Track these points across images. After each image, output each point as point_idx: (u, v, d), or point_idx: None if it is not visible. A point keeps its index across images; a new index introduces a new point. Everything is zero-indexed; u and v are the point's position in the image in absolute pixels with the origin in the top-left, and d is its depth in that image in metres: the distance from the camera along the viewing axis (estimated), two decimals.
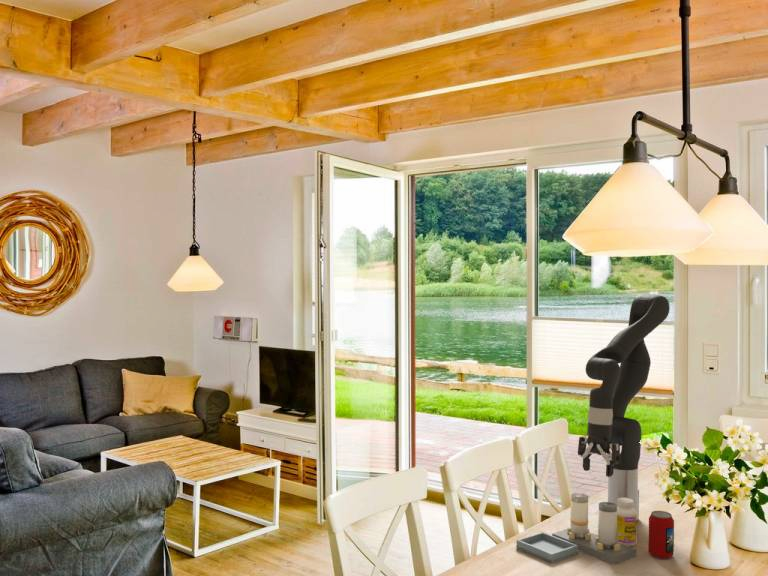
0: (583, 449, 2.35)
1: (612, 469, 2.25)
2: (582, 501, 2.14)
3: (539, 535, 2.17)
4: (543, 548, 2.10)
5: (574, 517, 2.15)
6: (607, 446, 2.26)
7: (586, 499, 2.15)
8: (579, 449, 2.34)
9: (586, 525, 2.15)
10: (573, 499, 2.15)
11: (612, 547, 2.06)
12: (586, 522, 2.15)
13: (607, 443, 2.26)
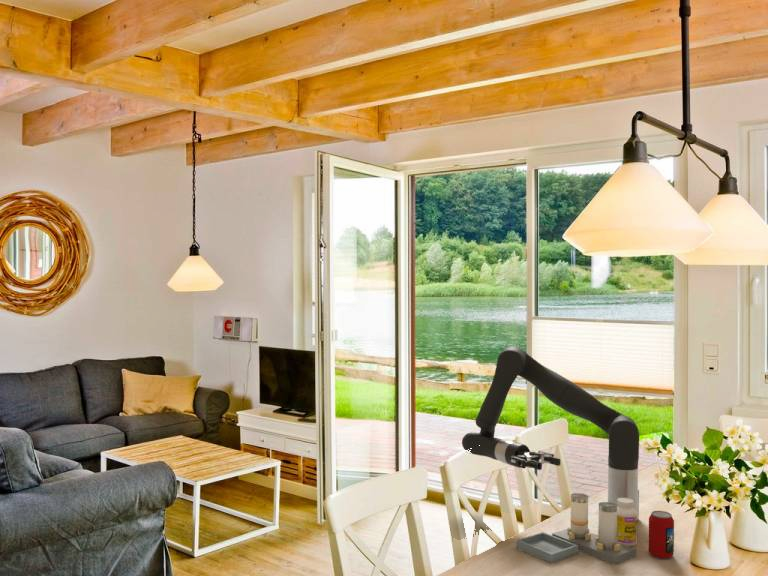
0: None
1: (532, 464, 2.24)
2: (582, 501, 2.14)
3: (539, 535, 2.17)
4: (543, 548, 2.10)
5: (574, 517, 2.15)
6: None
7: (586, 499, 2.15)
8: None
9: (586, 525, 2.15)
10: (573, 499, 2.15)
11: (612, 547, 2.06)
12: (586, 522, 2.15)
13: None
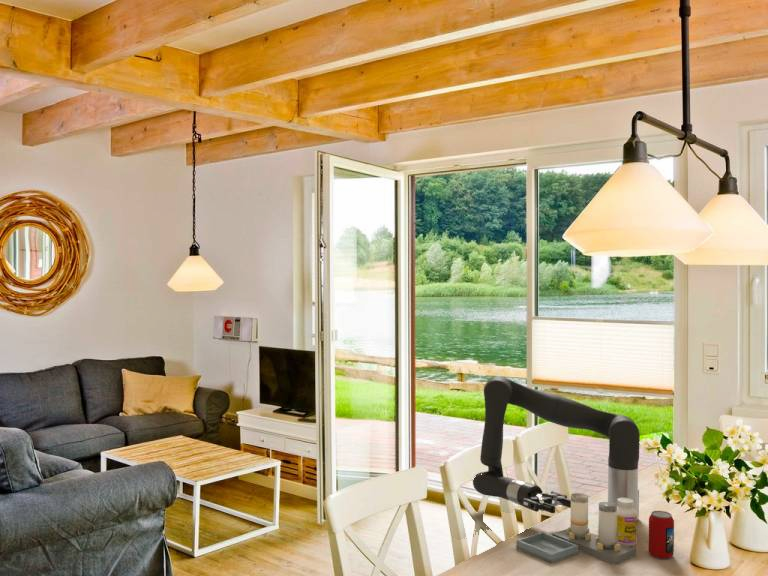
0: None
1: (546, 508, 2.20)
2: (582, 501, 2.14)
3: (539, 535, 2.17)
4: (543, 548, 2.10)
5: (574, 517, 2.15)
6: None
7: (586, 499, 2.15)
8: None
9: (586, 525, 2.15)
10: (573, 499, 2.15)
11: (612, 547, 2.06)
12: (586, 522, 2.15)
13: None
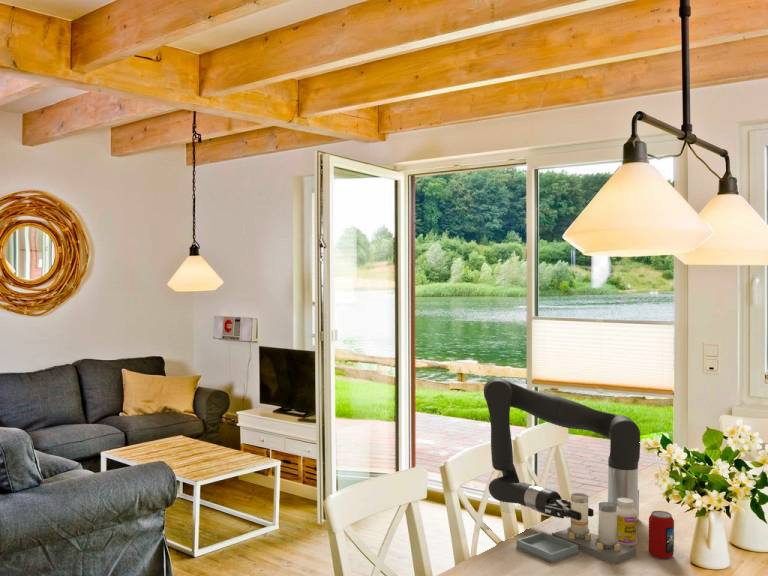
0: None
1: (571, 514, 2.14)
2: (582, 501, 2.14)
3: (539, 535, 2.17)
4: (543, 548, 2.10)
5: None
6: None
7: (586, 499, 2.15)
8: None
9: (586, 525, 2.15)
10: (573, 499, 2.15)
11: (612, 547, 2.06)
12: (586, 522, 2.15)
13: None
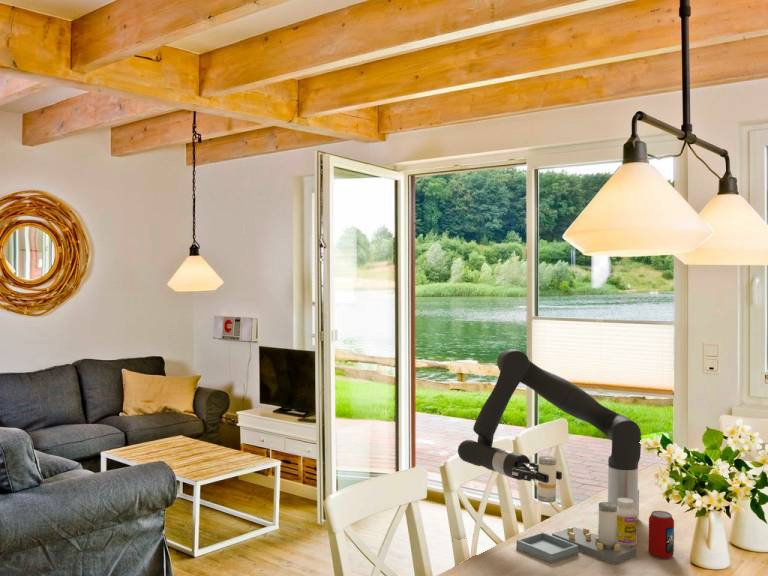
0: None
1: (539, 477, 2.07)
2: (550, 463, 2.07)
3: (539, 535, 2.17)
4: (543, 548, 2.10)
5: None
6: None
7: (554, 461, 2.08)
8: None
9: (554, 488, 2.08)
10: (541, 461, 2.08)
11: (612, 547, 2.06)
12: (554, 485, 2.08)
13: None
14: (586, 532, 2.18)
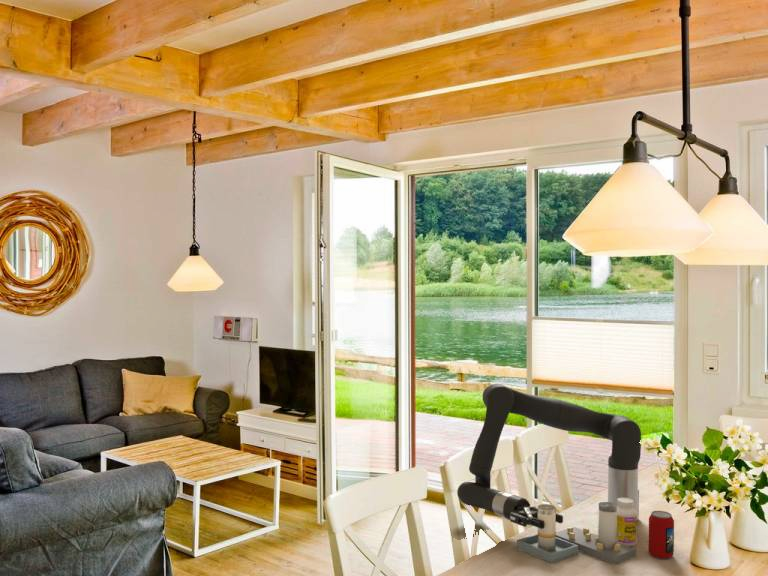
0: None
1: (534, 523, 2.07)
2: (549, 513, 2.07)
3: None
4: None
5: (541, 529, 2.08)
6: None
7: (553, 511, 2.08)
8: None
9: (553, 537, 2.08)
10: (540, 511, 2.08)
11: (612, 547, 2.06)
12: (553, 534, 2.08)
13: None
14: (586, 532, 2.18)
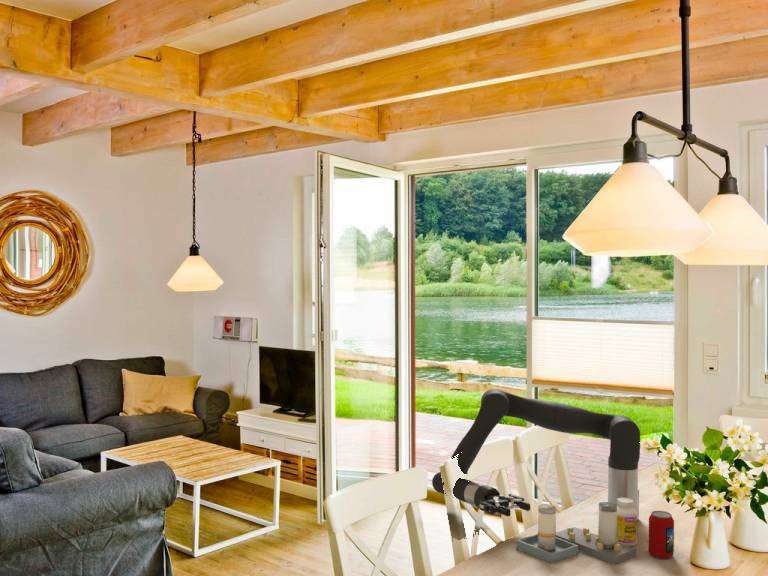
0: None
1: (501, 510, 2.17)
2: (549, 512, 2.08)
3: None
4: None
5: (541, 528, 2.08)
6: None
7: (553, 510, 2.08)
8: None
9: (553, 537, 2.08)
10: (540, 510, 2.09)
11: (612, 547, 2.06)
12: (553, 534, 2.08)
13: None
14: (586, 532, 2.18)
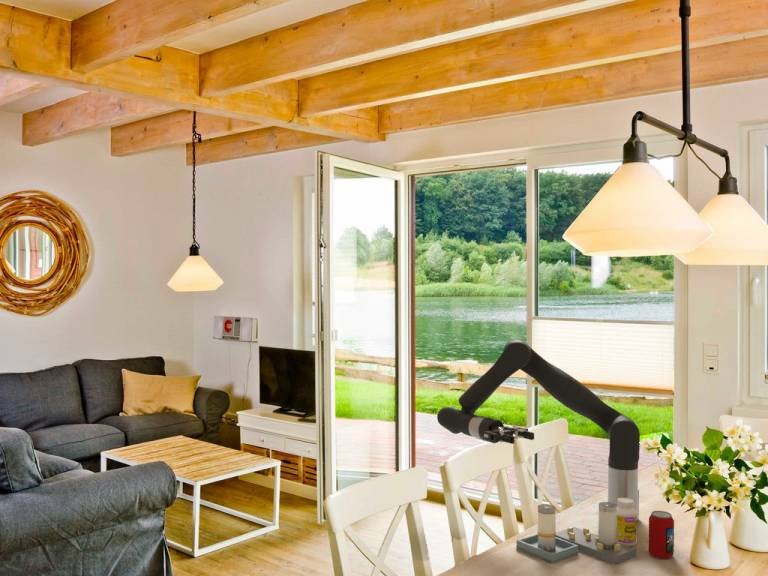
0: None
1: (505, 438, 2.20)
2: (548, 512, 2.07)
3: None
4: None
5: (541, 528, 2.08)
6: None
7: (553, 510, 2.08)
8: None
9: (553, 537, 2.08)
10: (539, 510, 2.09)
11: (612, 547, 2.06)
12: (553, 534, 2.08)
13: None
14: (586, 532, 2.18)
